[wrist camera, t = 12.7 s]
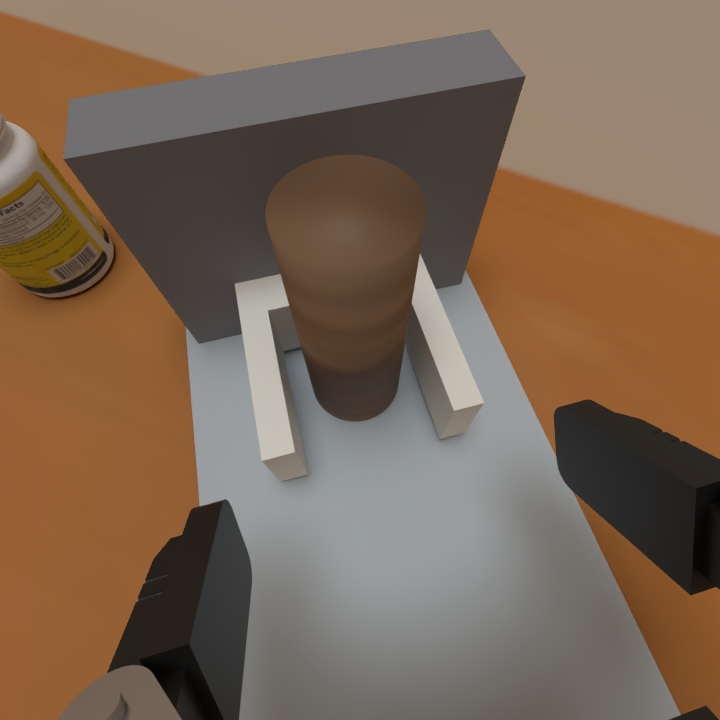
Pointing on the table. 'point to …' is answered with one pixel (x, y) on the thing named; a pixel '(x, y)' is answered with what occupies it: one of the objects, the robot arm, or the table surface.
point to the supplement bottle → (45, 222)
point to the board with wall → (379, 434)
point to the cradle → (278, 333)
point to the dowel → (349, 274)
